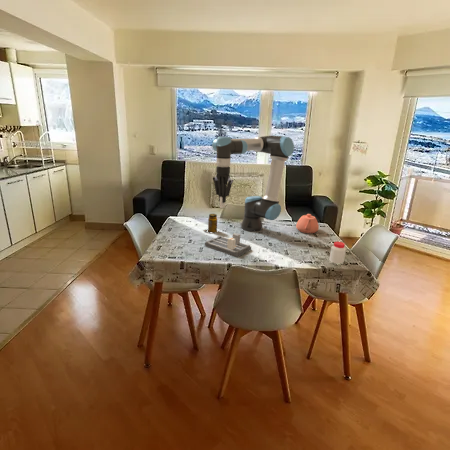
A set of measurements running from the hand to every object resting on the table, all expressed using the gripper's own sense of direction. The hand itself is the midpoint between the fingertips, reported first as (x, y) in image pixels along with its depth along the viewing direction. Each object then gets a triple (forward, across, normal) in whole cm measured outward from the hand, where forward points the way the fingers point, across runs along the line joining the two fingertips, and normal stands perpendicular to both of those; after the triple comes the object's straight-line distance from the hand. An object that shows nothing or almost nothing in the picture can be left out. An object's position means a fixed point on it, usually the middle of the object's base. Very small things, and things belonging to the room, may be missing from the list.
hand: (222, 207), depth 170 cm
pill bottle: (+25, +60, +27) cm, 70 cm away
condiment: (+25, -22, +18) cm, 38 cm away
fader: (+22, +9, -2) cm, 24 cm away
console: (+25, +4, +2) cm, 25 cm away
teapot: (+26, +28, +65) cm, 75 cm away
